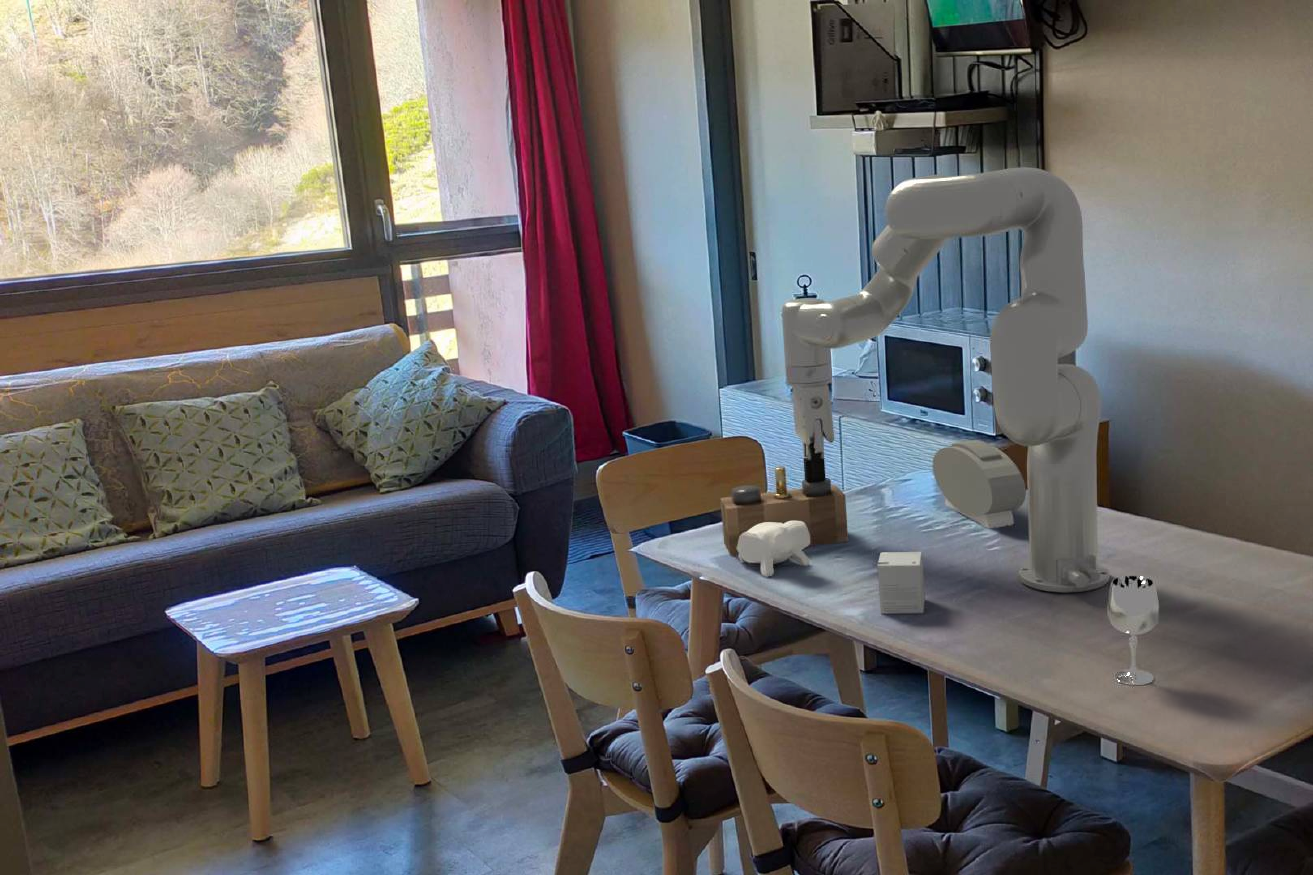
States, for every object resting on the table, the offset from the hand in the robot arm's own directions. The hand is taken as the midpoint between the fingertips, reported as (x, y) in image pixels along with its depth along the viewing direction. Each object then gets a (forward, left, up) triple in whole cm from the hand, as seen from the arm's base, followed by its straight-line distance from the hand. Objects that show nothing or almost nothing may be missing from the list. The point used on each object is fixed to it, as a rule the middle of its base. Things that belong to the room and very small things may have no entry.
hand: (815, 480), depth 215 cm
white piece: (-13, +9, -10) cm, 19 cm away
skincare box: (-36, -4, -10) cm, 38 cm away
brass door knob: (0, +6, -2) cm, 6 cm away
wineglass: (-68, -23, -10) cm, 73 cm away
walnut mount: (0, +6, -10) cm, 12 cm away
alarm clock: (+3, -29, -10) cm, 31 cm away
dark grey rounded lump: (0, +12, -9) cm, 15 cm away
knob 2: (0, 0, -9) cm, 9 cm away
